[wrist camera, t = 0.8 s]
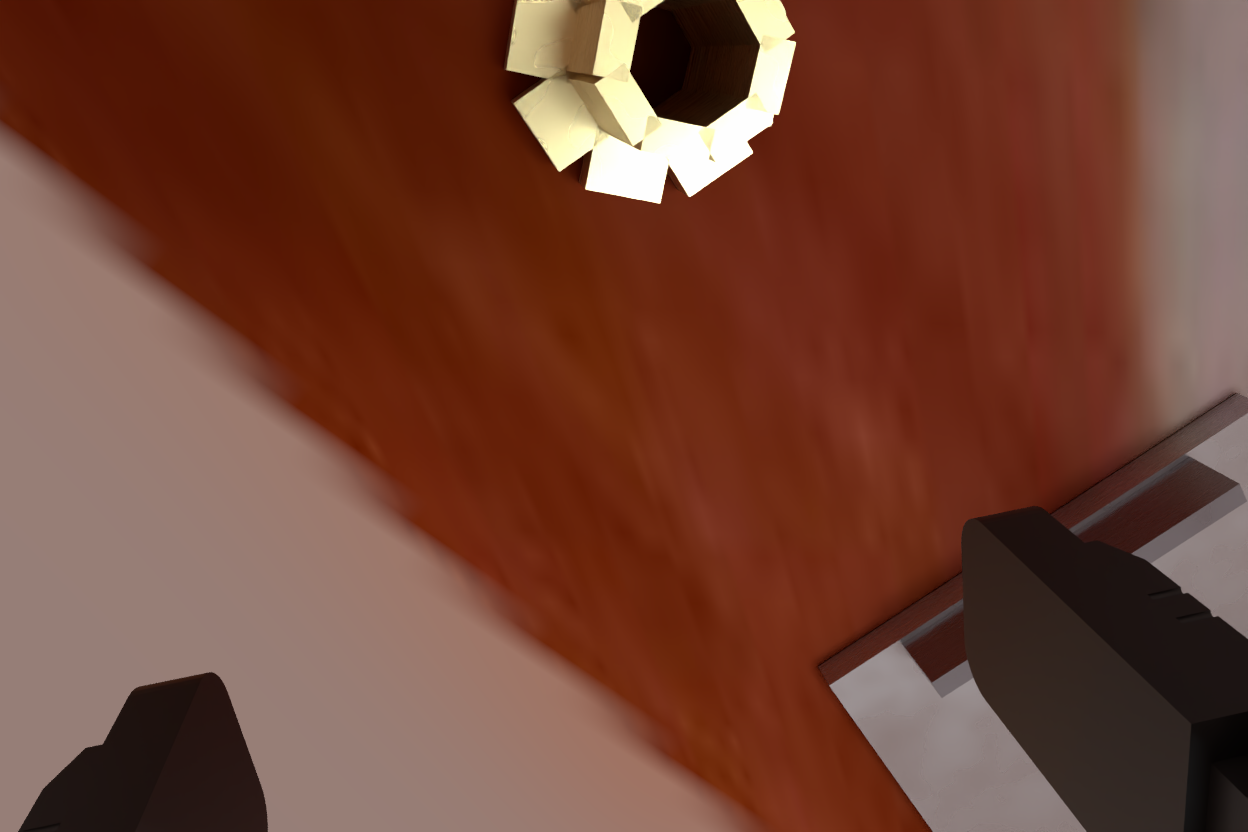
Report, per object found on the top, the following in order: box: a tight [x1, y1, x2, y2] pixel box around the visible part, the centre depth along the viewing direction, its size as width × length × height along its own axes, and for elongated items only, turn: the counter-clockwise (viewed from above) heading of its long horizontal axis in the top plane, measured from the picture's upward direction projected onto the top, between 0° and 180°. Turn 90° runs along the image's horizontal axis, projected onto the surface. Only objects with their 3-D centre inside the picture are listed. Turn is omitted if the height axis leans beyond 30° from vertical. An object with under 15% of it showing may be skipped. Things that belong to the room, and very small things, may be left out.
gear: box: [504, 0, 796, 203], centre depth 26 cm, size 8×8×7 cm
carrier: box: [818, 393, 1248, 832], centre depth 38 cm, size 18×21×6 cm
